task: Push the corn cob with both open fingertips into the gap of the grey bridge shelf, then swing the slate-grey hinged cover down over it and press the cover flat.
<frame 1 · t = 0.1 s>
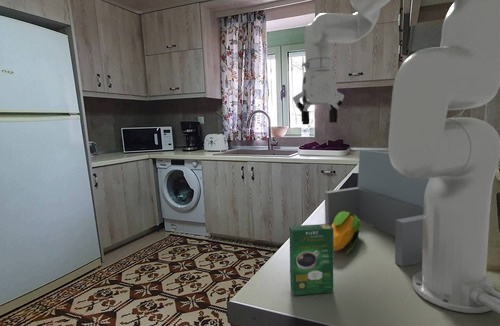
hand: (319, 123, 92), 31 cm above the counter, tool pointing down, fingers open, 9 cm apart
grey bridge shelf: (366, 238, 79), on the counter
coffee box: (312, 292, 57), on the counter
cover: (396, 176, 80), point 16 cm above the counter, hinge at 95.0°
corn: (343, 245, 76), on the counter
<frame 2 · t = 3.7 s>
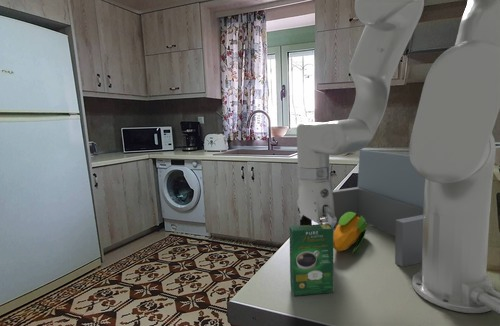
hand: (315, 240, 74), 3 cm above the counter, tool pointing down, fingers open, 9 cm apart
corn: (348, 246, 76), on the counter
everything else where it was.
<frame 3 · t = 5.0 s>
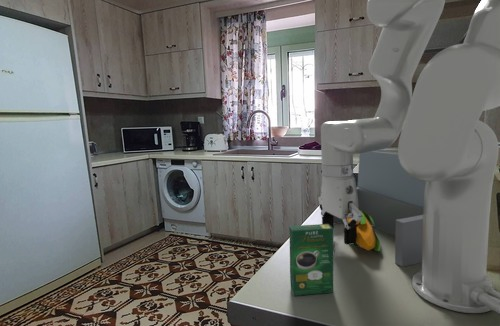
hand: (338, 236, 76), 2 cm above the counter, tool pointing down, fingers open, 9 cm apart
corn: (362, 244, 76), on the counter, touching gripper
everything else where it was.
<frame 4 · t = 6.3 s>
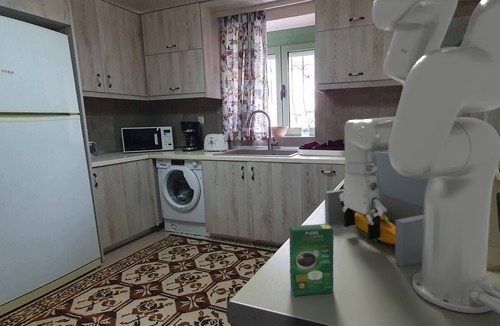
hand: (361, 231, 78), 2 cm above the counter, tool pointing down, fingers open, 9 cm apart
corn: (379, 239, 78), on the counter, touching gripper
everything else where it was.
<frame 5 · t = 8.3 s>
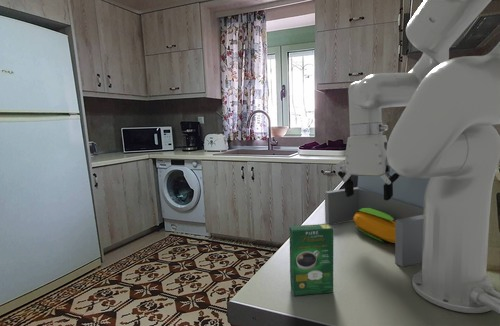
hand: (368, 197, 76), 12 cm above the counter, tool pointing down, fingers open, 9 cm apart
corn: (382, 240, 78), on the counter
everything else where it was.
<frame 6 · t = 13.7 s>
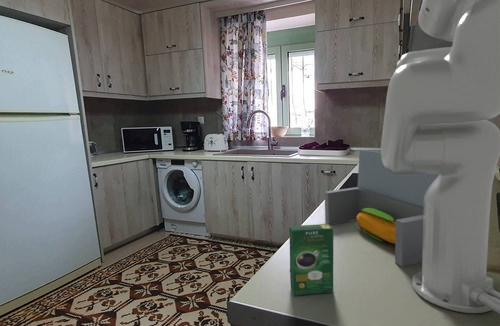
hand: (413, 175, 79), 16 cm above the counter, tool pointing down, fingers closed
cover: (396, 176, 80), point 16 cm above the counter, hinge at 94.8°, touching grey bridge shelf, gripper
corn: (384, 240, 78), on the counter, touching grey bridge shelf
everything else where it was.
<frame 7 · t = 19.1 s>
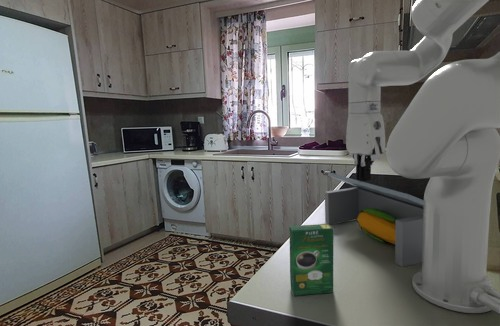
hand: (363, 180, 77), 16 cm above the counter, tool pointing down, fingers closed
cover: (377, 189, 78), point 13 cm above the counter, hinge at 24.8°, touching grey bridge shelf, gripper
corn: (385, 240, 78), on the counter
everything else where it was.
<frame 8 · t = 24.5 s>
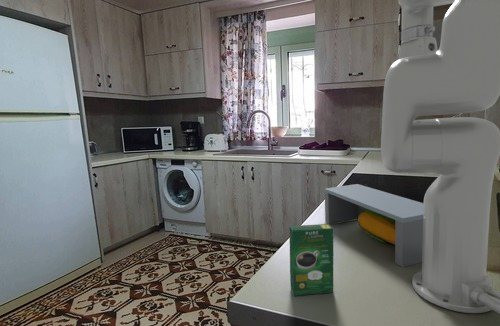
hand: (415, 104, 83), 35 cm above the counter, tool pointing down, fingers closed
cover: (375, 199, 78), point 10 cm above the counter, hinge at 0.0°, touching grey bridge shelf
everything else where it was.
at the end: cover at +0° (first picture: +95°); corn inside the target area on the grey bridge shelf (2.9 cm from its centre), point 0.0 cm above the grey bridge shelf's base; coffee box moved 0.2 cm from its start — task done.
